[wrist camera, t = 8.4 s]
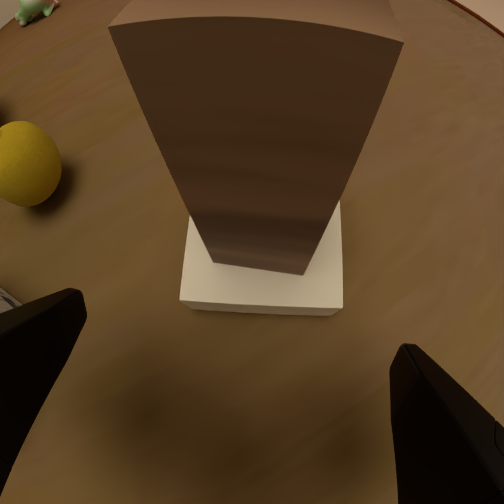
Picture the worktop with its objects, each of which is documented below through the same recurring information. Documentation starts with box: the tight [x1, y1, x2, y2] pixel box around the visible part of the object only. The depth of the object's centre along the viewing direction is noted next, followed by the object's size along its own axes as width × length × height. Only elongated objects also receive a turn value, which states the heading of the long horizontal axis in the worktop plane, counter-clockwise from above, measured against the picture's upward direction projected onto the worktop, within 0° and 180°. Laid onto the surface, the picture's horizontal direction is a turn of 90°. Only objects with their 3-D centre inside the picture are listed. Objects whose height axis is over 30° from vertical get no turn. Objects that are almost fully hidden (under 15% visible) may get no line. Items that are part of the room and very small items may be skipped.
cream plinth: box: [180, 200, 343, 316], centre depth 18 cm, size 8×8×3 cm
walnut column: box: [108, 0, 404, 276], centre depth 10 cm, size 4×4×13 cm
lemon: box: [0, 121, 62, 207], centre depth 18 cm, size 6×6×8 cm
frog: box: [15, 0, 59, 26], centre depth 31 cm, size 10×8×8 cm
